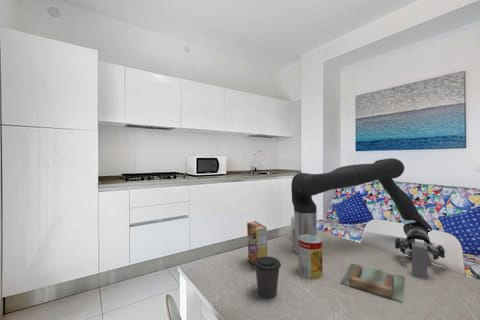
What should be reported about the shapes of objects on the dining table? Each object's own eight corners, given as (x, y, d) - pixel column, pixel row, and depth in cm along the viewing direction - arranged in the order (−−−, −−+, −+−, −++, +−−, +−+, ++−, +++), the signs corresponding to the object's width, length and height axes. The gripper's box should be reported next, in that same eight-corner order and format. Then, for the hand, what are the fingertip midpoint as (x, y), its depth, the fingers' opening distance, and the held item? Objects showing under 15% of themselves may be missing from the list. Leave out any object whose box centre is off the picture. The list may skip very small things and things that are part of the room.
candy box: (247, 261, 88) (246, 222, 88) (256, 259, 90) (256, 220, 90) (257, 271, 80) (257, 228, 80) (268, 269, 82) (267, 226, 81)
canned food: (326, 272, 79) (325, 238, 79) (316, 281, 73) (316, 244, 73) (305, 265, 84) (304, 233, 84) (294, 273, 79) (294, 238, 78)
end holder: (340, 283, 72) (340, 275, 72) (351, 264, 85) (351, 257, 85) (402, 302, 62) (402, 293, 62) (404, 277, 75) (404, 270, 75)
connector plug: (411, 275, 76) (411, 241, 76) (412, 270, 79) (411, 237, 79) (427, 279, 74) (427, 243, 73) (426, 274, 77) (426, 240, 77)
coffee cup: (274, 305, 62) (274, 268, 62) (248, 296, 66) (248, 261, 66) (285, 290, 69) (285, 257, 68) (261, 282, 73) (260, 251, 73)
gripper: (396, 227, 96) (394, 238, 83) (441, 234, 88) (446, 248, 75) (396, 245, 96) (394, 259, 83) (441, 253, 88) (446, 270, 75)
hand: (418, 254), depth 79 cm, fingers open, 8 cm apart
